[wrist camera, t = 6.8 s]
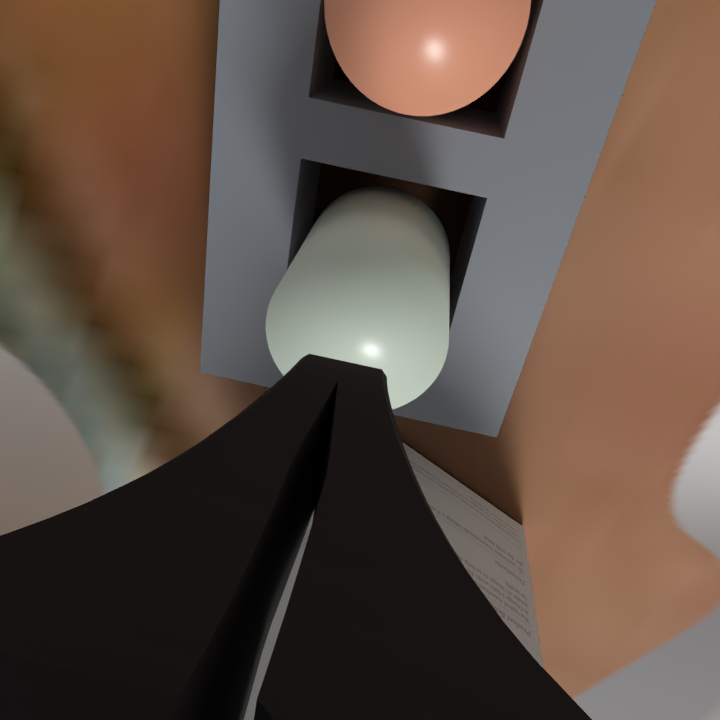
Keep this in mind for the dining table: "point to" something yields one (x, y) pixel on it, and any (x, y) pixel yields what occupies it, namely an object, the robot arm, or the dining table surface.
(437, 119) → the socket board
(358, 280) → the plug sage
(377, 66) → the plug rust
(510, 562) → the supplement box
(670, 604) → the dining table surface
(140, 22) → the dining table surface
